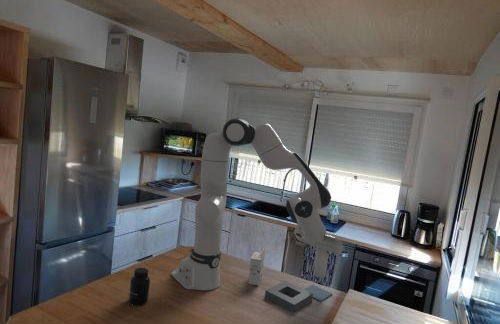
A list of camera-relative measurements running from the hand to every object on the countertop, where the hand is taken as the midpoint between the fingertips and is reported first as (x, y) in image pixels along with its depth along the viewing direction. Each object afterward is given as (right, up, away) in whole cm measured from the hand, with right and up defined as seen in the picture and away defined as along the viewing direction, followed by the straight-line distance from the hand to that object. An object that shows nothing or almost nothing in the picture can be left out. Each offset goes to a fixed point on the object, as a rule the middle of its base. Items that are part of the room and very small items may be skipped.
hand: (323, 250), depth 146 cm
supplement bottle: (-72, -14, -21) cm, 76 cm away
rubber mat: (-3, -19, +2) cm, 19 cm away
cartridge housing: (-16, -18, -6) cm, 25 cm away
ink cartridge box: (-29, -16, +7) cm, 34 cm away
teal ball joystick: (-2, -11, +1) cm, 11 cm away
